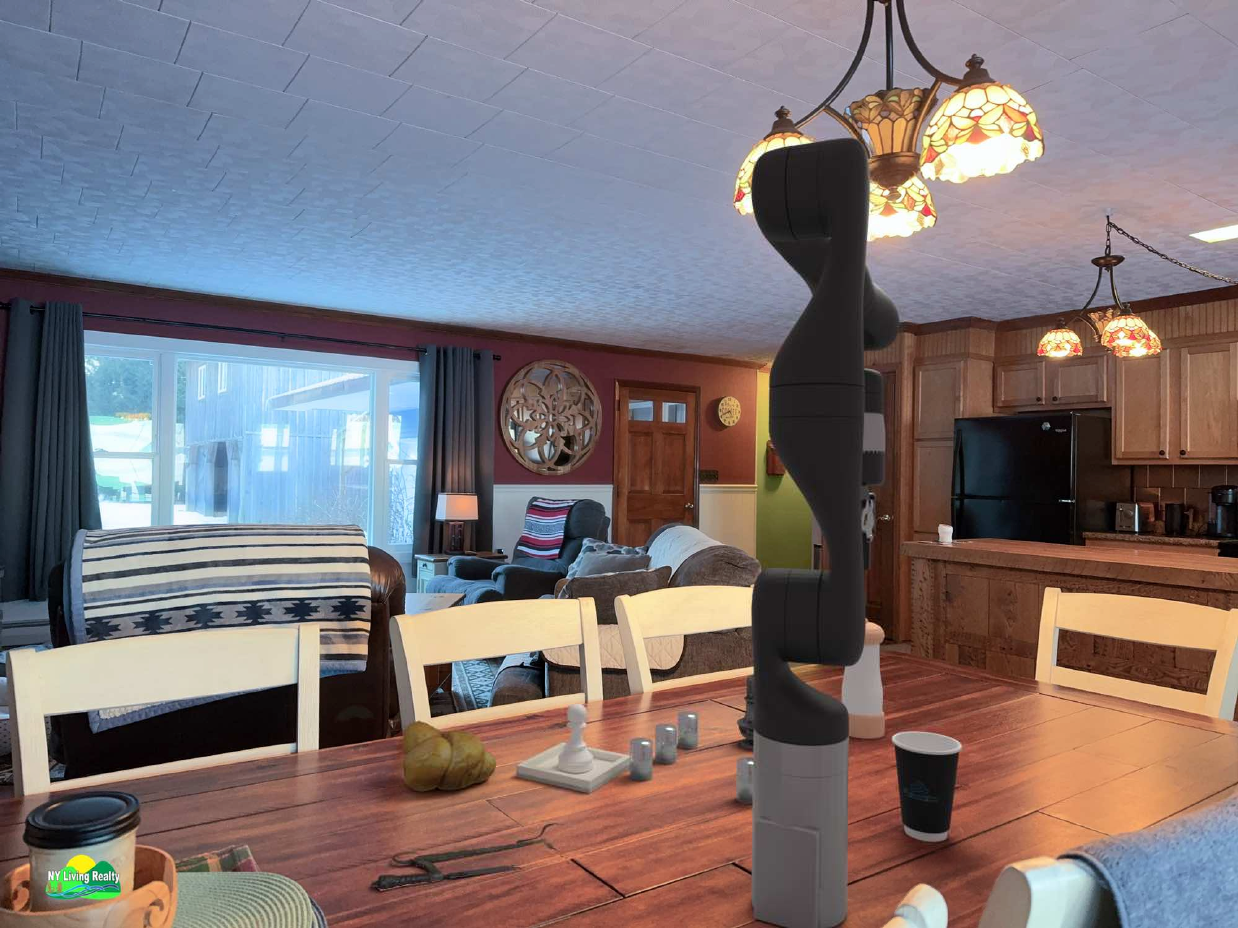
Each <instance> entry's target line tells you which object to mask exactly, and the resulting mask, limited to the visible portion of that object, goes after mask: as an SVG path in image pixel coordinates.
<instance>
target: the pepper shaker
mask: <svg viewBox="0 0 1238 928" xmlns="http://www.w3.org/2000/svg"><path fill="white" fill-rule="evenodd" d="M885 636H886V635H885V631H884V629H883V628H882V627H881V626H880V625H878V624H876V623H874V622H870V621H869V620H868V618H866V630H865V641H864V648H863V652H862V655H861V657H860V659H859V661H858V662H857V663H856V664H854V665H852V666H844V673H843V678H842V684H841V702H842V703H843V704H844V705H845V707H846V708H847V711H848V714H849V737H852V738H857V739H865V740H867V739H869V740H872V739H873V740H874V739H878V738H879V739H881V738H883V737H884V736H885V729H886V728H885V720H886V719H885V718H886V717H885V712H884V711H883V702H884V701H883V700H884V699H883V696H884V689H883V685H882V684H883V683H882V675H881V671H880V669H881V668H880V656H881V655H880V647H881V646H880V644H882V642H883V641H884V639H885Z"/></svg>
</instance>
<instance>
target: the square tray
mask: <svg viewBox="0 0 1238 928" xmlns="http://www.w3.org/2000/svg"><path fill="white" fill-rule="evenodd" d="M566 743H567V742H560V743H559V744H558V743H557V744H556V745H555V746H552V747H551V748H548V749H546V750H544V751H542V752H540V753H538V754H536V755H534V756H532V757H530V758H528V759H526V760H524V761H522V762H520V763H518V764H516V770H515V776H516V778H521V779H524V780H529V781H533V780H534V782H537V783H538V782H539V783H542V784H547V785H550V786H554V787H560V788H564V789H569V790H573V791H579V792H582V793H586V794H591V793H592V792H594V791H596V790H597V789H599V788H601V787H602V786H604V785H606V784H607V783H609V782H610V781H612V780H614V779H615V778H616V777H618V776H620V775H621V774H623V773H625V772H626V771H628V770H630V754H626V753H625V754H624V753H619V752H614V751H609V750H604V749H599V748H594V747H590V746H586V747H585V748H586V749H587V750H588V751H589V752H590V753H591V754H592V755H593V760H592V761H593V768H592V769H591V770H590V771H587V772H583V773H569V772H564V771H562V770H560V769H559V767H558V761H559V758H558V756H559V754H560V753H562V752H563V751H564V750H565V749H566V748H567V747H566Z"/></svg>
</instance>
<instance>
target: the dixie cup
mask: <svg viewBox="0 0 1238 928" xmlns="http://www.w3.org/2000/svg"><path fill="white" fill-rule="evenodd" d="M891 742H892V743H893V744H894V753H895V764H896V775H897V782H898V785H897V786H898V795H899V803H900V804H899V805H900V812H901V813H900V814H901V822H902V825H903V827H904V833H905V834H906V835H908V836H909V837H911V838H913V839H914V840H915V839H916V840H919V841H923V842H931V843H932V842H942V841H945V840H947V838H948V832H949V830H950V829H951V821H952V815H953V807H954V806H953V805H954V798H955V790H956V789H955V788H956V783H957V781H956V780H957V774H958V764H959V758H960V757H959V756H960V751H961V750H962V748H963V746H962V744H961V742H959V740H957V739H954V738H952V737H950V736H946V735H944V734H939V733H935V732H928V731H902V732H898V733H896V734H894V735H893V736H892V737H891Z"/></svg>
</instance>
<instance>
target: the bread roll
mask: <svg viewBox="0 0 1238 928" xmlns="http://www.w3.org/2000/svg"><path fill="white" fill-rule="evenodd" d="M401 745H402V753H404V755H405V756H404V758H403V760H402V761H403V765H402V768H403V776H404V783H405V784H406V785H407V786H408V787H409V788H411V790H414V791H417V792H427V791H431V790H432V791H433V790H435V789H436V788H439V789H440V790H443V791H452V790H459V789H463V788H466V787H468V786H470V785H472V784H479V783H482V782H484V781H486V780H488V779H489V778H491V776H492V775H493V774H494V772H495V771H496V768H497V767H496V766H497V761H496V759H495V756H494V755H493V753H491V752H490V751H488V750H485V749H484V748H485V747H484V744H483V742H482V741H481V739H480V738H479V737H478V736H476V735H475V734H474V733H472V732H470V731H467V730H460V729H455V730H450V731H447V732H444V733H443V731H441V730H440V729H439V728H438V729H437V728H435V727H434V726H433V725H431V724H429V723H427V722H424V721H421V720H418V721H414V722H411V723H410V724H408V725H407V726H406V728H405V731H404V734H403V737H402V741H401Z"/></svg>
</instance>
